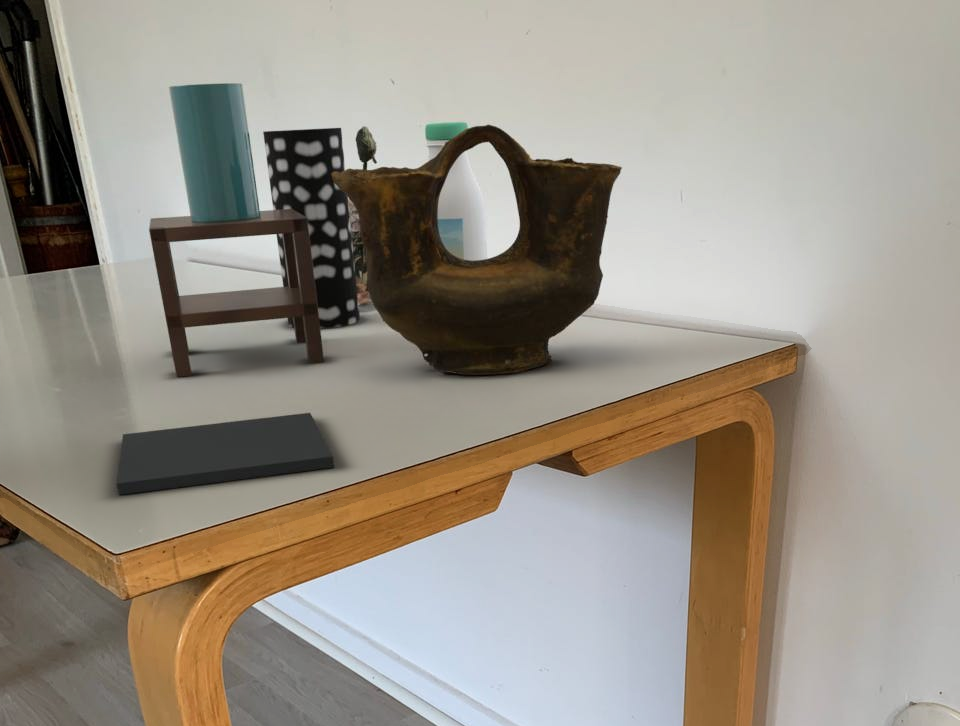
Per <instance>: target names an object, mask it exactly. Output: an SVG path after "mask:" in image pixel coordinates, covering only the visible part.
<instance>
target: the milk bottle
mask: <svg viewBox="0 0 960 726" xmlns="http://www.w3.org/2000/svg"><path fill="white" fill-rule="evenodd" d="M424 127H425V128H424V133H425V140H426V147H427V148H428V149H427V150H428V160H427V162H428V161H430V160H431V159H433V158H435V157H436V156H437V155H438V153H439V152H440V151H441V150H442V148H443V147H444V146H445V143H446V142H448V141H449V140H451V139H452V138H454V137H455V136H457V135H458V134H459V133H461V132H462V131H464V130H465V129H468V128H469V127H468V123H467V122H465V121H452V122H434V123H427V124H425V126H424ZM483 197H484V196H483V193H482V190H481V188H480V185H479V183H478V180H477V178H476V176H475V174H474V172H473V170H472V166H471V163H470V159H469V156H468V150H467V151H465V152H463V153H462V154H461V155H460V156H459V157H458V158H457V160H456V161H455V163H454V164H453V166H452V167H451V169H450V171H449V173H448V175H447V178H446V181H445V183H444V185H443V188H442V190H441V193H440V196H439V201H438V228H439V234H440V237H441V240H442V242H443V244H444V246H445V248H446V249H447V250H448V251H449V252H450V253H451V254H452V255H454V256H456V257H458V258H460V259H464V260H472V261H475V260H484V259H488V241H487V239H488V238H487V224H486V223H487V221H486V220H487V219H486V210H485V203H484V201H485V200H484V198H483Z"/></svg>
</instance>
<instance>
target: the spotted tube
mask: <svg viewBox="0 0 960 726" xmlns="http://www.w3.org/2000/svg"><path fill="white" fill-rule="evenodd" d="M262 133H263V140H264V149H265V157H266V164H267V173H268V178H269V180H268V181H269V187H270V195H271V202H272V203H271V204H272V208H273V209H272V210H282V209H293V210H295V211H296V212H298V213H300V214H301V215H303V216H305V217H307V219H308V228H309V236H310V245H311V254H312V262H313V271H314V279H315V288H316V296H317V305H318V313H319V322H320V330H321V329H333V328H340V327H347V326H351V325H354V324H356V323H358V322H360V320H361V319H360V317H361V316H360V306H359V307H358V297H357V286H356V276H355V266H354V255H353V245H352V235H351V224H350V214H349V204H348V199H349V198H348V196H347V195H346V194H345V193H344V192H342V191H341V190H340V189H339V187H338V186H337V185H336V184H335V183H334V181H333V178H332V175H331V173H333V172H340V173H341V172H343V171H345V170H346V165H345V164H346V163H345V153H344V152H345V151H344V143H343V133H342V127H326V128H325V127H323V128H305V129H287V130H286V129H285V130H284V129H283V130H268V131H266V130H265V131H263V132H262ZM276 240H277V241H276V242H277V249H278V255H279V264H280V271H281V278H282V287H287V286H289V284H288V276H287V268H286V261H285V253H284V245H283V237H282V234H276ZM287 324H288V327H291V328H294V323H293V317H292V318H287Z"/></svg>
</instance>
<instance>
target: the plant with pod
mask: <svg viewBox="0 0 960 726" xmlns="http://www.w3.org/2000/svg"><path fill="white" fill-rule="evenodd" d="M355 143H356V149H357V150H356V151H357V155H358V159H359V161H360V162H361V163H362V169H363V170H368V162H369V161H371V160H372V162H373V163H374V164H377V163H378V162H377V160H376V156H375V155H376V153H377V146H378V145H377V142H376V141H375V139H374V137H373V133H372V132H371V131H370V130H369V127H367V126H366V125H364V126H362V127H361V128H360V129H359V130H357V133H356V137H355ZM348 204H349V214H350V224H351V235H352V245H353V255H354V266H355V276H356V286H357V297H358V307H359V308H360V306H361V305H364V304H367V303H368V302H372V301H371V297H370V294H369V292H368V289H367V287H366V280H367V256H366V249H365V245H364V244H363V242H362V238H361V236H360V223H359V215H358V212H357V209H356V208H355V206H354V204H353V203H352V202H351V201H350V199H349V198H348Z"/></svg>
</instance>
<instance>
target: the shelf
mask: <svg viewBox="0 0 960 726" xmlns="http://www.w3.org/2000/svg"><path fill="white" fill-rule="evenodd" d="M148 231H149V238H150V243H151V248H152V254H153V259H154V263H155V264H154V265H155V269H156V274H157V279H158V286H159V290H160V291H159V292H160V295H161V301H162V307H163V310H164V317H165V322H166V327H167V333H168V334H167V335H168V338H169V342H170V343H169V344H170V349H171V354H172V361H173V364H174V365H173V366H174V370H175V376H176V378H181V377H191V376H192V375H193V374H192V366H191V362H190V356H189V354H190V349H189V348H190V347H189V344H188V338H187V332H186V328H195V327H203V326H204V327H205V326H217V325H227V324H238V323H239V324H240V323H247V322H249V323H250V322H259V321H269V320H270V321H272V320H281V319H288V318H292V317H293V323H294V327H293V330H294V337H295V341H296V343H297V344H303V343H305V345H306V355H307V361H308V362H309V364H314V363H315V364H317V363H324V362H325V358H324V348H323V340H322V332H321V331H322V330H321V329H320V322H319V313H318V305H317V296H316V288H315V279H314V271H313V262H312V254H311V245H310V236H309V228H308V219H307V217H305V216H303V215H301V214H300V213H298V212H296V211H295V210H293V209H282V210H273V209H270V210H260V217H258V218H253V219H246V220H237V221H224V222H193V221H191V215H184V216H168V217H154V218H150V222H149V227H148ZM277 234H282V237H283V245H284V253H285V261H286V268H287V276H288V284H289V286H287V287H283V286H279V287H278V286H276V287H266V288H253V289H243V290H231V291H230V290H229V291H220V292H219V291H217V292H208V293H197V294H196V293H195V294H185V295H183V294H182V295H180V294H179V288H178V282H177V276H176V270H175V266H174V260H173V253H172V249H171V243H178V242H179V243H180V242H189V241H202V240H204V241H205V240H217V239H230V238H243V237H244V238H245V237H258V236H269V235H270V236H271V235H277Z"/></svg>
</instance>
